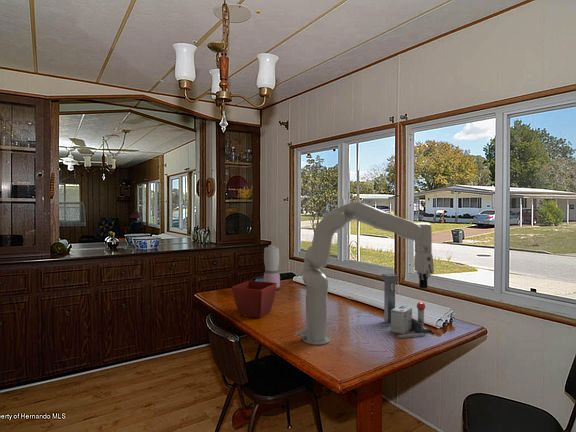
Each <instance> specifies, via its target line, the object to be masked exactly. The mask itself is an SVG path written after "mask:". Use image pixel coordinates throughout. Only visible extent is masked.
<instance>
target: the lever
mask: <svg viewBox="0 0 576 432" xmlns="http://www.w3.org/2000/svg"><path fill="white" fill-rule="evenodd" d="M416 309H417V321H418V322H420V323H422V330H427V327H426V326H425V309H426V304H425V303H424V302H423V301H422V302H421V301H420V302H417V304H416ZM425 327H426V328H425Z"/></svg>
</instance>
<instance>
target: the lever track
mask: <svg viewBox="0 0 576 432" xmlns="http://www.w3.org/2000/svg"><path fill="white" fill-rule="evenodd" d="M424 327H425V328H427V327H426V326H424ZM425 332H430V333H431V334H432V333H433V335H435V332H434V331H432V329H431V328H430V329H429V328H427V330H422V333H424V336H425V334H426V333H425Z"/></svg>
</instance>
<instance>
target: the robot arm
mask: <svg viewBox="0 0 576 432" xmlns="http://www.w3.org/2000/svg"><path fill="white" fill-rule="evenodd" d="M351 221H357V222H359V223H362V224H365V225H367V226H370V227H373V228H375V229H377V230H381V231H385V232H389V233H390V232H391V233H394V234H396V235H397V236H398V237H400V238H401V239H406V240H411V241H414V263H413V266H414V271H415V272H416V274H417V275H418V279H419V280H418V282H419V283H418V284H419V285H418V286H419V288H420V289H427V288H428V279H429V278H431V274H432V275H434V272H435V270H434V267H435V266H434V257H433V250H432V249H433V245H432V243H433V242H432V241H433V240H432V237H433V236H432V234H433V232H432V229H433V227H432V224H431V223H427V222H419V223H415V222H413V221H412V220H409V219H406V218H403V217H400V216H398V215H396V214H395V215H394V214H392V213H389V212H386V211H384V210H381V209H379V208H376V207H373V206H372V205H368V204H367V203H364V202H360V201H352V202H349V203H346V204H344V205H342V206H339V207H337V208H335V209H331V210H330V211H329V210H328V212H326V213H325V214H324V215H323V218H322V219H321V220H320V221H319V222H318V223H317V225H316V226H315V229H314V232H313V238H312V242H311V246H309V247H308V248H307V250H306V251H305V254H304V260H303V267H302V268H303V269H302V281H303V283H304V284H305V286H306V295H305V328H304V329H303V330H302V331H295V336H296V337H299V338H302V341H303V342H305V343H306V344H308V345H314V346H315V345H316V346H318V345H319V346H320V345H327V344H329V343H330V342H331V336H330V335H329V334H328V320H327V319H328V290H329V280H328V277H327V276H326V274H325V273H324V272H323V270H324V268H325V267H327V265H328V263H329V262H330V254H331V248H332V247H331V246H332V240H333V237H334V235H335V234H336V232H338V231H339V230H341V229H343V228H344V227H345V226H346V224H347V223H350V222H351Z"/></svg>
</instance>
